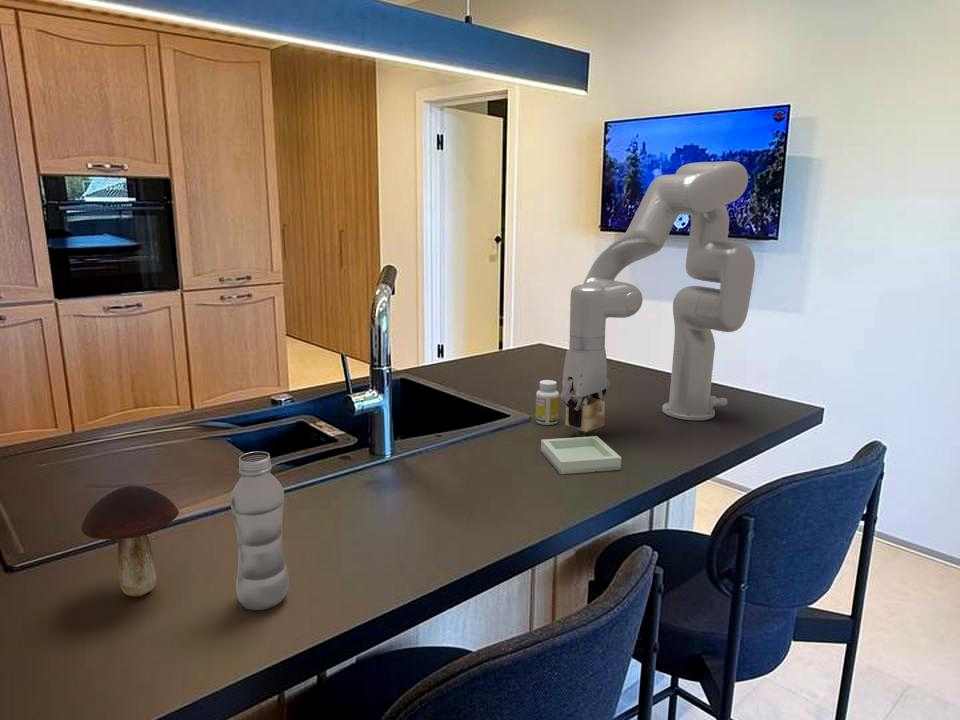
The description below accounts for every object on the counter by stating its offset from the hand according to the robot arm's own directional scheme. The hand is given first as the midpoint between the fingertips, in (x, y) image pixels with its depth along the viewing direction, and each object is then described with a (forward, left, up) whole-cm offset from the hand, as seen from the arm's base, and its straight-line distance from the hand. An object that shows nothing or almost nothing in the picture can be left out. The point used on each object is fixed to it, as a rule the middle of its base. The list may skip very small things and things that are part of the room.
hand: (584, 421), depth 147 cm
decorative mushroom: (+80, +45, -4) cm, 92 cm away
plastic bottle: (+64, +50, -4) cm, 81 cm away
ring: (0, 0, -1) cm, 1 cm away
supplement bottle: (+5, -12, -4) cm, 13 cm away
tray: (+6, +12, -4) cm, 14 cm away
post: (+1, 0, -4) cm, 4 cm away
